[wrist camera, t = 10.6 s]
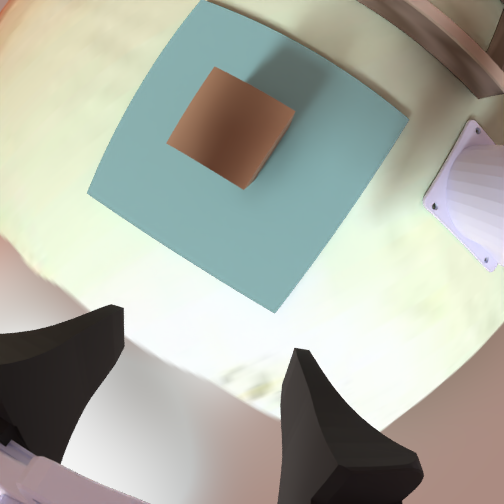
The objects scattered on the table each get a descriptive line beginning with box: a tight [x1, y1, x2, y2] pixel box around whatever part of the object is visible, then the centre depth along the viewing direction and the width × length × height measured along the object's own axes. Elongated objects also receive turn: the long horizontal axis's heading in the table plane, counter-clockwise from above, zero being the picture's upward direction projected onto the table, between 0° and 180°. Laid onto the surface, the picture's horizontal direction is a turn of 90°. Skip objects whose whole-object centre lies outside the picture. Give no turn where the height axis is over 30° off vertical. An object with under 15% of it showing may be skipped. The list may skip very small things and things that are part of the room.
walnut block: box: [166, 66, 295, 190], centre depth 15 cm, size 4×4×6 cm
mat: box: [87, 0, 409, 313], centre depth 18 cm, size 16×16×1 cm
